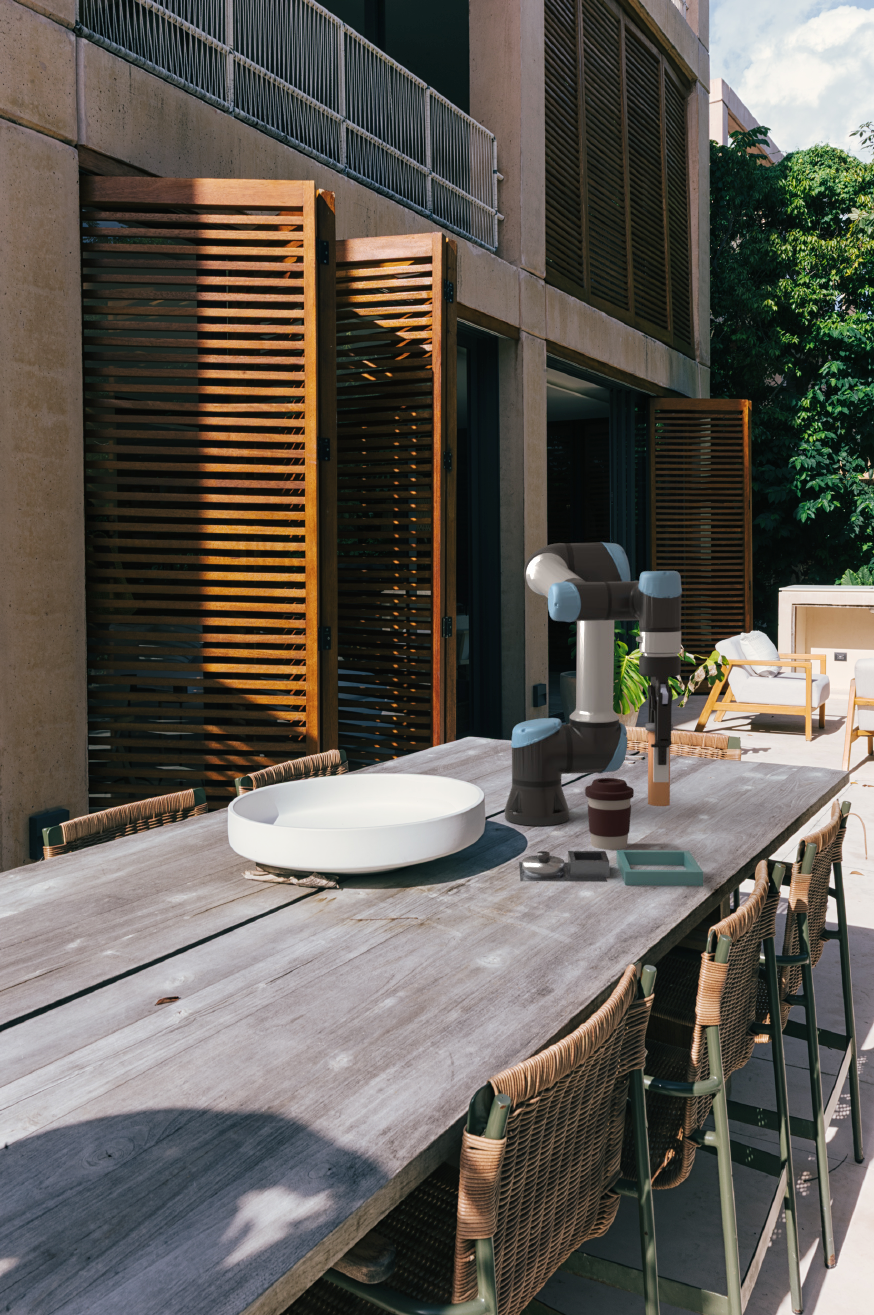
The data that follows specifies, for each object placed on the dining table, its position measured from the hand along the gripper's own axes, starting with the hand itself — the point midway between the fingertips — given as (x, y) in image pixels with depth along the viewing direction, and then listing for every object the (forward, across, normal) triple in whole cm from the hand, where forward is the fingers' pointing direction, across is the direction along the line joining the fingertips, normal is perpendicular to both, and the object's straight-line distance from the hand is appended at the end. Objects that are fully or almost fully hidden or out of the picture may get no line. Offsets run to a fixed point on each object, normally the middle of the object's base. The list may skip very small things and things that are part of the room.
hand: (659, 778), depth 190 cm
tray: (+20, 0, 0) cm, 20 cm away
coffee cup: (+20, -20, -7) cm, 29 cm away
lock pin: (+5, 0, 0) cm, 5 cm away
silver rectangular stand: (+20, -1, -18) cm, 27 cm away
